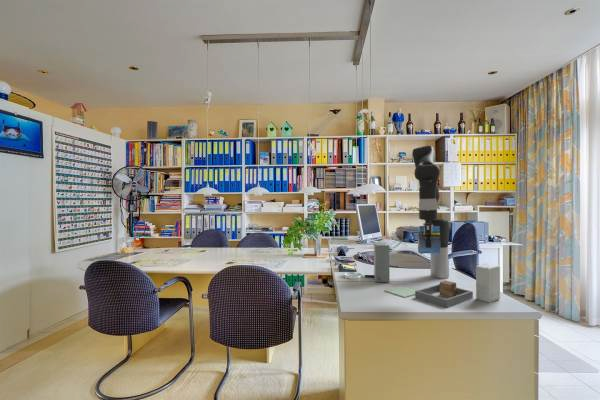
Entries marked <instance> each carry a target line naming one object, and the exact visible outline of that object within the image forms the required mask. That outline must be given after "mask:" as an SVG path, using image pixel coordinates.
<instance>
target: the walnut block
mask: <svg viewBox="0 0 600 400" xmlns="http://www.w3.org/2000/svg"><path fill="white" fill-rule="evenodd" d="M439 284H440V291H439V296H443V297H445V298H446V297H447V298H451V297H454V296H457V295H456V287H457V282H454V281H450V280H441V281H439Z"/></svg>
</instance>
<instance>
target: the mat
mask: <svg viewBox="0 0 600 400" xmlns="http://www.w3.org/2000/svg"><path fill="white" fill-rule="evenodd" d="M383 291H384V292H386V293H389V294H392V295H395V296H398V297H401V298H408V297H409V298H410V297H413V296H415V291H417V290H416V289H413V288H409V287H406V286H401V285H398V286H395V287H390V288H387V289H384V290H383Z"/></svg>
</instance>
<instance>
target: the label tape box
mask: <svg viewBox="0 0 600 400" xmlns="http://www.w3.org/2000/svg"><path fill="white" fill-rule="evenodd" d="M418 227H419V229H418V230H419V231H418V232H417V252H418V253H419V254H430V253H439V254H440V226H433V228H432V229H433V230H432V234H431V236H432V238H431V248H427V247H426V239H425V234H424V227H425V226H423V225H419V226H418ZM427 235H430V234H427Z"/></svg>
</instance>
